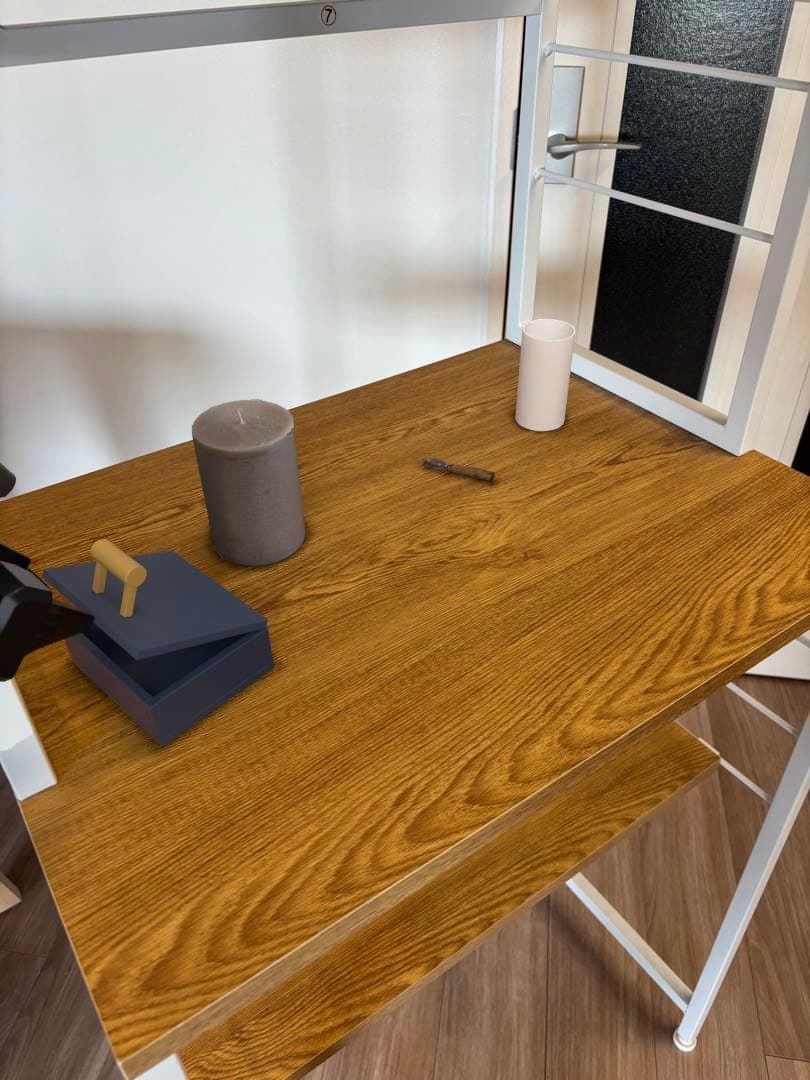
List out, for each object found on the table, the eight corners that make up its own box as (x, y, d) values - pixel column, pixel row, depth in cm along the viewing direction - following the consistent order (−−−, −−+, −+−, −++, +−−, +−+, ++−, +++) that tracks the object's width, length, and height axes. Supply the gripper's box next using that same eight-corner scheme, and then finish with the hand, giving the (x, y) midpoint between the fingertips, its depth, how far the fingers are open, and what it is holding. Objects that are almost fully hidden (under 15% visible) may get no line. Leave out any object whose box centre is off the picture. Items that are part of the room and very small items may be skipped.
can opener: (495, 478, 94) (496, 470, 93) (486, 489, 93) (487, 480, 92) (425, 458, 98) (425, 450, 97) (416, 468, 96) (415, 459, 95)
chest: (162, 747, 66) (150, 708, 63) (72, 662, 73) (58, 623, 70) (274, 666, 72) (268, 627, 69) (182, 596, 80) (173, 558, 77)
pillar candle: (204, 567, 83) (176, 438, 74) (222, 509, 90) (200, 386, 81) (301, 567, 83) (285, 438, 73) (311, 509, 90) (299, 385, 81)
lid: (136, 660, 60) (148, 597, 58) (41, 577, 67) (49, 518, 65) (266, 627, 69) (279, 572, 67) (171, 558, 76) (181, 506, 75)
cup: (505, 420, 105) (512, 331, 97) (532, 401, 108) (540, 314, 101) (547, 436, 101) (557, 345, 94) (573, 416, 105) (585, 327, 98)
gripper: (-35, 480, 42) (185, 550, 55) (-166, 366, 52) (47, 448, 65) (-137, 672, 42) (106, 696, 55) (-247, 522, 52) (-19, 572, 65)
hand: (58, 592), depth 60 cm, fingers open, 9 cm apart
